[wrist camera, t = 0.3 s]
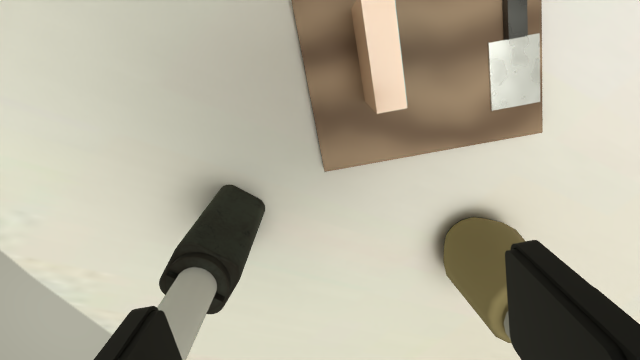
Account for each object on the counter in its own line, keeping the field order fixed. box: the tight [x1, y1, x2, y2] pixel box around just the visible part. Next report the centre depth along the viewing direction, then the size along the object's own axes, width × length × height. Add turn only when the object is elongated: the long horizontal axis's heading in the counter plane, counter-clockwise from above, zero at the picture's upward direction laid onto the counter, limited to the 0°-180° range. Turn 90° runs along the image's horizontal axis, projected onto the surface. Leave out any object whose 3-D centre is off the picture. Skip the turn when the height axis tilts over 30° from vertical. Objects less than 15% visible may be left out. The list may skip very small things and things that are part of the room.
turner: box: [488, 0, 540, 111], centre depth 32 cm, size 17×4×1 cm, turn 11°
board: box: [292, 0, 542, 172], centre depth 34 cm, size 20×21×1 cm
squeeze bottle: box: [444, 217, 526, 343], centre depth 32 cm, size 8×8×18 cm
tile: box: [351, 0, 407, 114], centre depth 30 cm, size 8×2×8 cm, turn 11°
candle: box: [157, 185, 265, 360], centre depth 28 cm, size 5×5×25 cm
